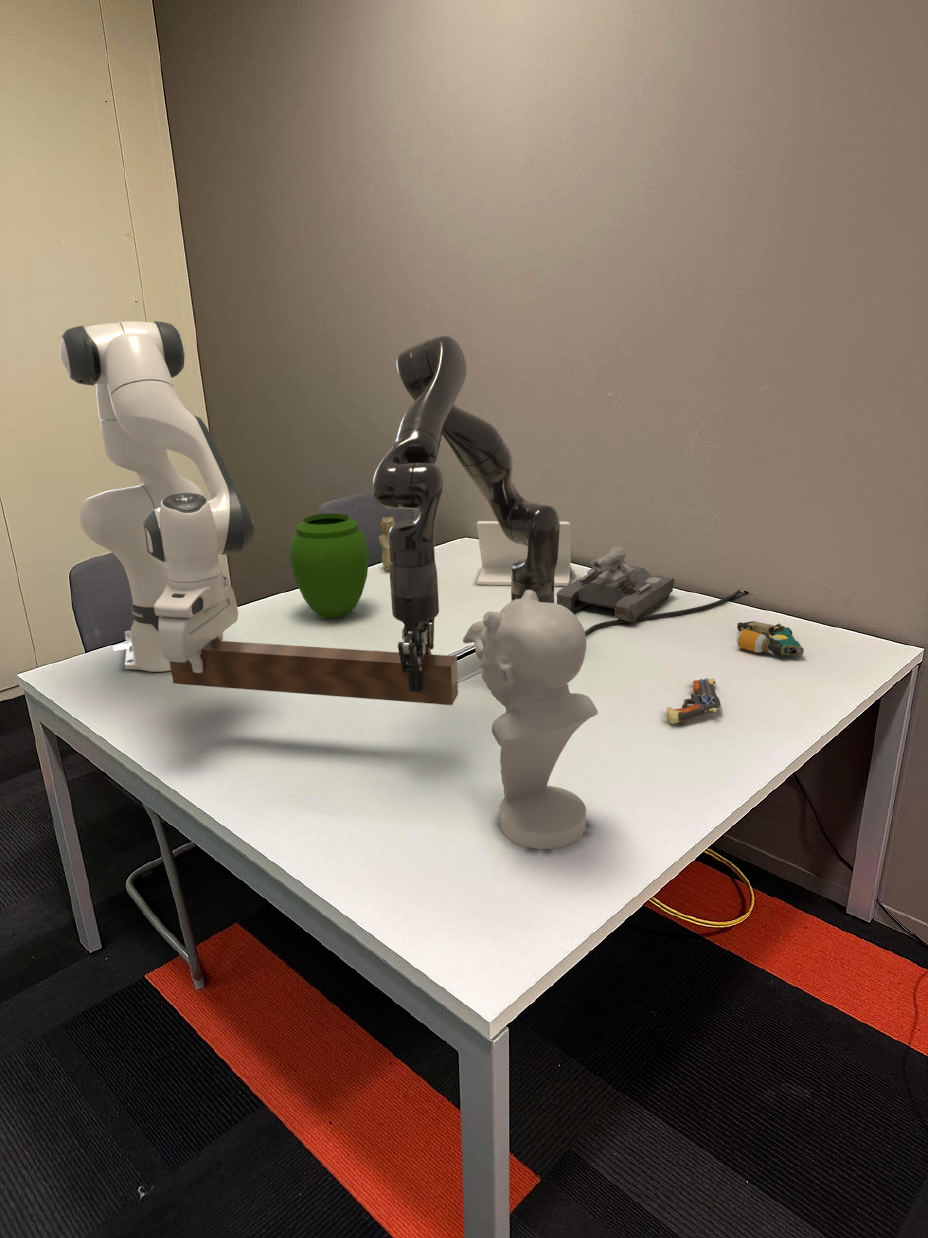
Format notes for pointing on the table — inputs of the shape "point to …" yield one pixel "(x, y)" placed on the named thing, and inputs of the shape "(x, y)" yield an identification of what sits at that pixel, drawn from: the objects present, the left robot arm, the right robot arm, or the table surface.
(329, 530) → the vase
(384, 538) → the sculpture
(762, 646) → the spray gun
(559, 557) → the tablet stand
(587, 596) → the toy
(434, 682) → the beam
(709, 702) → the toy gun
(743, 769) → the table surface
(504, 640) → the bust sculpture
